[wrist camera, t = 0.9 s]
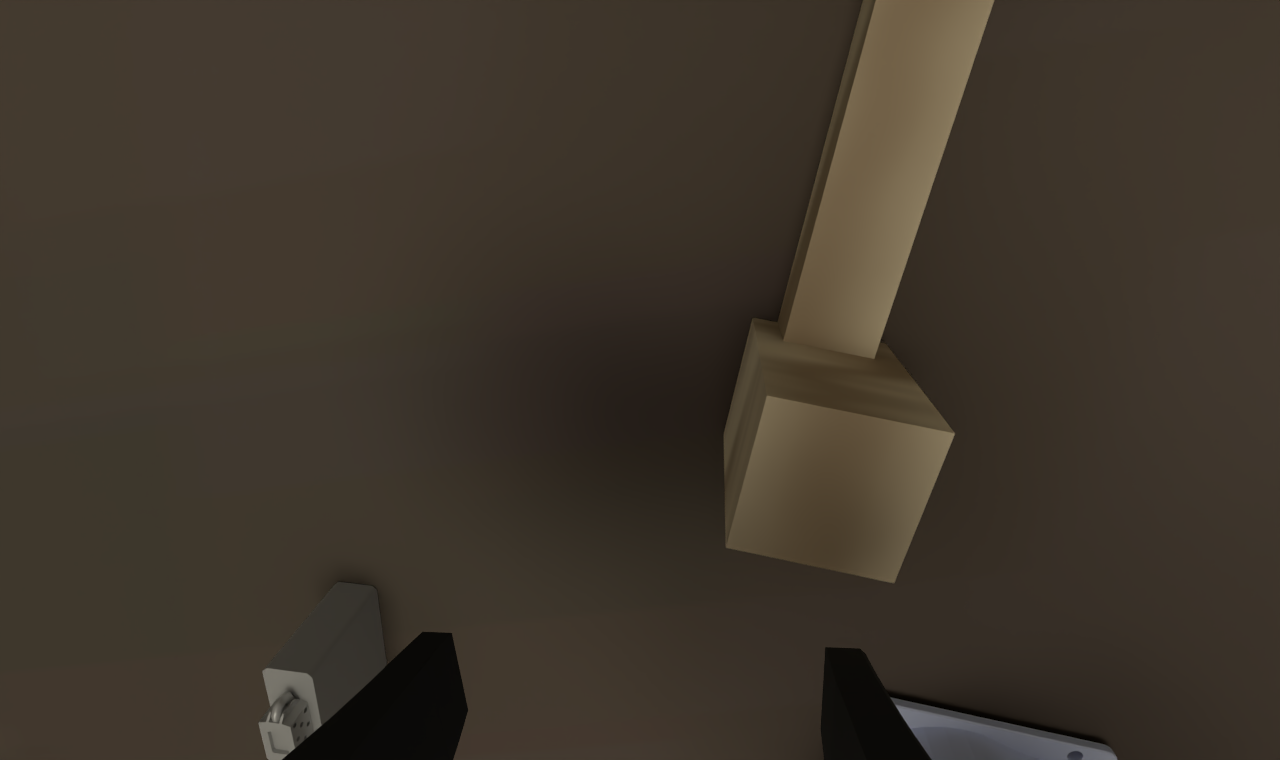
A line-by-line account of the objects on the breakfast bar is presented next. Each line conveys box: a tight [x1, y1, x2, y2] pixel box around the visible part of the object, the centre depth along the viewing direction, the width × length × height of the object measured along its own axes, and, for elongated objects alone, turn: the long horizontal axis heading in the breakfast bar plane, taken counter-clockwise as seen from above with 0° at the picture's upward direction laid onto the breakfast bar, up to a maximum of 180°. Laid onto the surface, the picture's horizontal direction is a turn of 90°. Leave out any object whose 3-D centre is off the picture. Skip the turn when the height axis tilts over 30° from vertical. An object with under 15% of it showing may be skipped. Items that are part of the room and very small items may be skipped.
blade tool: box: [724, 0, 994, 583], centre depth 15 cm, size 7×16×6 cm, turn 170°
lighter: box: [258, 582, 387, 760], centre depth 22 cm, size 7×2×8 cm, turn 177°
